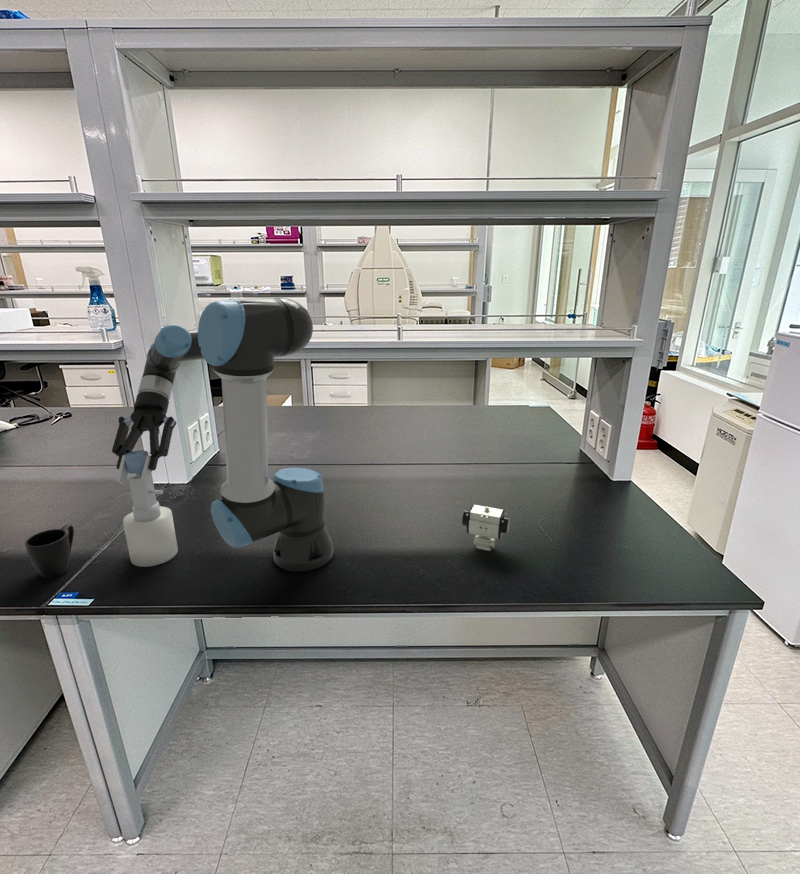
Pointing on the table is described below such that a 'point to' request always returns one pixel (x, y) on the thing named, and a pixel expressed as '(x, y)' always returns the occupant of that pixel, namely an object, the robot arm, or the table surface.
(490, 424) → the table surface
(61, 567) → the mug
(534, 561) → the table surface
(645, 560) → the table surface
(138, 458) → the plunger
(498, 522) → the pneumatic valve
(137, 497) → the bottle
